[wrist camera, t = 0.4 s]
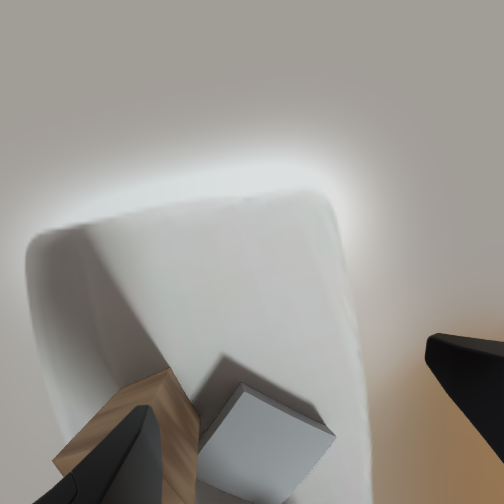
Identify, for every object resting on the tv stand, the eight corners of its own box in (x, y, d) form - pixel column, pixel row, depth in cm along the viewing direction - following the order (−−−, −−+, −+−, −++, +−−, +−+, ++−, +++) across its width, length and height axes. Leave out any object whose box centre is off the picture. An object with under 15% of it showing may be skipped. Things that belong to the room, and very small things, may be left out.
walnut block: (200, 417, 23) (194, 514, 10) (149, 437, 22) (112, 532, 9) (170, 367, 23) (132, 436, 10) (119, 389, 22) (51, 460, 10)
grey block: (270, 495, 22) (275, 510, 20) (185, 458, 22) (183, 473, 20) (326, 426, 24) (336, 437, 22) (241, 381, 24) (244, 391, 21)
